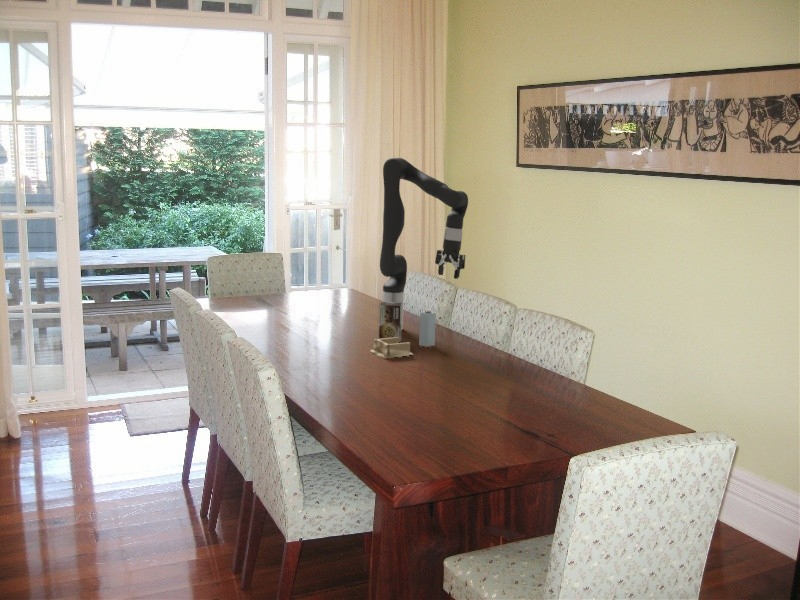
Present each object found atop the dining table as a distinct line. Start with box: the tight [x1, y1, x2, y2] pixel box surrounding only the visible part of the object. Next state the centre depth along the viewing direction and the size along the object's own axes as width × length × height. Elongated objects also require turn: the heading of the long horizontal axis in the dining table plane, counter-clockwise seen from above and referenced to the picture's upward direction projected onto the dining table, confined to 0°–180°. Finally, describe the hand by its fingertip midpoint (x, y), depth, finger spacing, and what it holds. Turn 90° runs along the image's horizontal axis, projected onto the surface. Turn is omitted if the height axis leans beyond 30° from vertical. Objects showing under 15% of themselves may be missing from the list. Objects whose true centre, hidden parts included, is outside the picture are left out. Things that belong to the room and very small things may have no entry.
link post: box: [418, 310, 437, 346], centre depth 363 cm, size 4×4×15 cm
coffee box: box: [378, 301, 402, 343], centre depth 370 cm, size 9×6×16 cm
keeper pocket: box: [369, 337, 414, 360], centre depth 350 cm, size 12×13×5 cm
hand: (448, 276), depth 373 cm, fingers open, 8 cm apart
